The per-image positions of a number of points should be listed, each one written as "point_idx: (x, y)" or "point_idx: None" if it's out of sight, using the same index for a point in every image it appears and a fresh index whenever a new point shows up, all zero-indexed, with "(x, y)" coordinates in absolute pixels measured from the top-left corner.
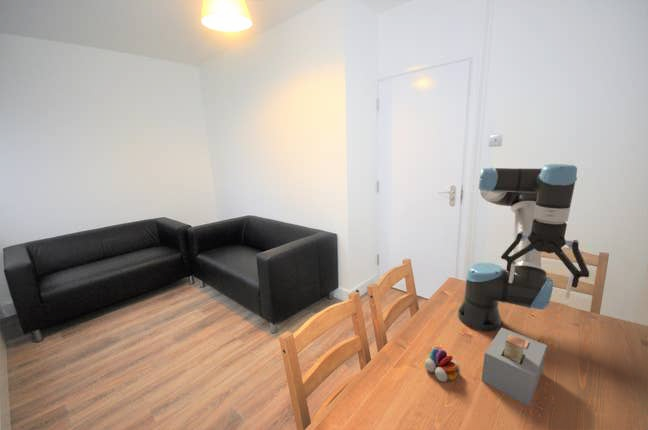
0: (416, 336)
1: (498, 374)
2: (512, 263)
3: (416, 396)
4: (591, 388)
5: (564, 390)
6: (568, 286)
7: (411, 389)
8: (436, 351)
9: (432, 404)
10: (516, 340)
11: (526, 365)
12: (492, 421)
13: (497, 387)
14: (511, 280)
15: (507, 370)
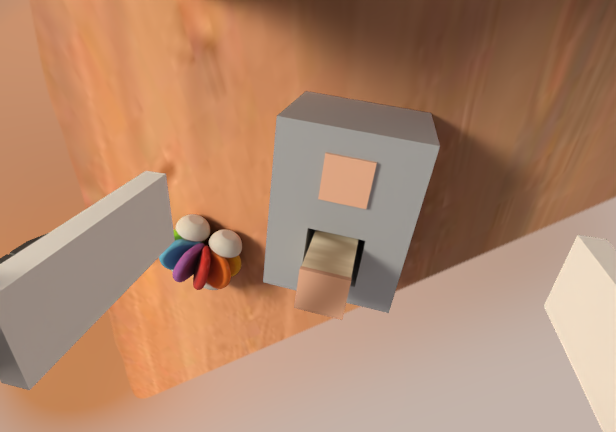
0: (102, 155)
1: None
2: (6, 375)
3: (203, 321)
4: (571, 100)
5: (483, 156)
6: (596, 407)
7: (189, 312)
8: (170, 256)
9: (232, 324)
10: (323, 295)
11: (367, 284)
12: None
13: None
14: (158, 254)
15: None
